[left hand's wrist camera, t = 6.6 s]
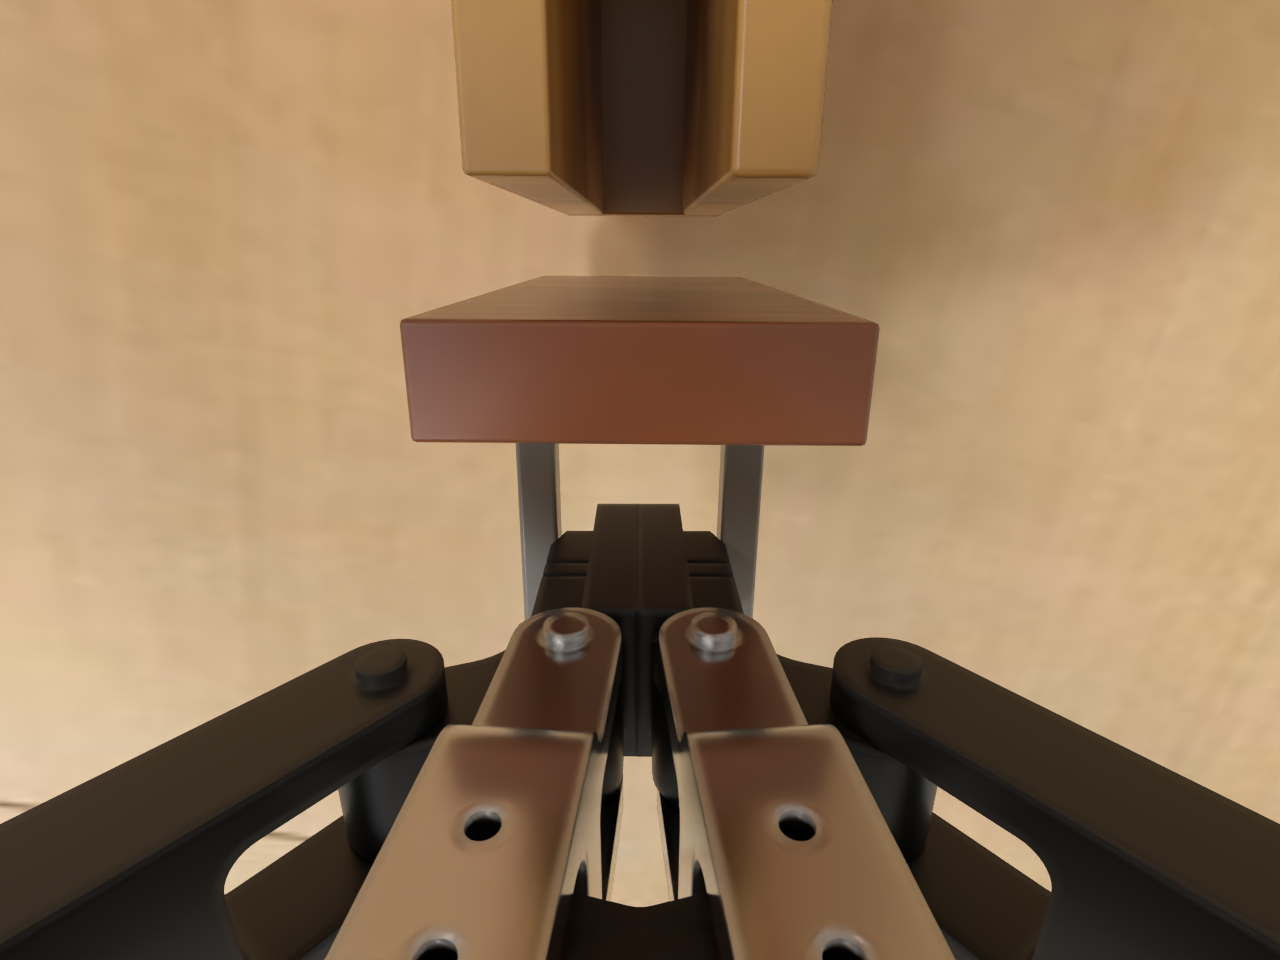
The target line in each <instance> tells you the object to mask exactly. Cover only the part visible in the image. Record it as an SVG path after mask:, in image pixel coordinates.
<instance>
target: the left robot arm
mask: <svg viewBox="0 0 1280 960" xmlns="http://www.w3.org/2000/svg"><path fill="white" fill-rule="evenodd" d="M623 756H652V774H653V780H654V783H655V785H656V787H657V810H658V818H659V825H660V833H661V840H662V848H663V856H664V863H665V871H666V879H667V886H668V894H669V902H665V903H661V904H657V905H653V906H648V907H632V906H627V905H623V904H619V903H615V902H611V895H612V888H613V880H614V872H615V865H616V857H617V849H618V842H619V834H620V827H621V819H622V811H623ZM937 786H938V787H940V788H941V789H943V790H944V791H946V792H948V793H949V794H951V795H952V796H954V797H955V798H957V799H958V800H960V801H962V802H963V803H965V804H966V805H968V806H969V807H971V808H972V809H974V810H976V811H977V812H979V813H980V814H982V815H983V816H985V817H986V818H988V819H989V820H991V821H993V822H994V823H996V824H997V825H999V826H1000V827H1002V828H1003V829H1005V830H1007V831H1008V832H1010V833H1011V834H1013V835H1014V836H1016V837H1017V838H1019V839H1020V840H1022V841H1023V842H1024V843H1026V844H1027V845H1028V846H1029V847H1030V848H1031V849H1032V850H1033V851H1034V852H1035V853H1036V854H1037V855H1038V856H1039V858H1040V859H1041V860H1042V862H1043V863H1044V865H1045V867H1046V868H1047V871H1048V873H1049V875H1050V879H1051V882H1052V892H1050V891H1048V890H1047V889H1045V888H1044V887H1042V886H1041V885H1039V884H1038V883H1036V882H1035V881H1033V880H1032V879H1030V878H1029V877H1027V876H1026V875H1025V874H1023V873H1022V872H1020V871H1019V870H1017V869H1016V868H1014V867H1013V866H1011V865H1010V864H1008V863H1007V862H1005V861H1004V860H1002V859H1001V858H999V857H998V856H996V855H995V854H994V853H992V852H991V851H989V850H988V849H986V848H985V847H983V846H982V845H980V844H979V843H977V842H976V841H974V840H973V839H971V838H970V837H968V836H967V835H965V834H964V833H963V832H961V831H960V830H958V829H957V828H955V827H954V826H952V825H951V824H949V823H948V822H946V821H945V820H943V819H942V818H940V817H939V816H937V815H936V814H934V813H933V812H932V810H933V805H934V800H935V795H936V790H937ZM337 789H338V791H339V796H340V801H341V806H342V811H343V816H341V817H340V818H338V819H337V820H335V821H334V822H332V823H331V824H330V825H328V826H327V827H325V828H324V829H322V830H321V831H319V832H318V833H316V834H315V835H313V836H312V837H310V838H309V839H307V840H306V841H304V842H303V843H301V844H300V845H299V846H297V847H296V848H294V849H293V850H291V851H290V852H288V853H287V854H285V855H284V856H282V857H281V858H279V859H278V860H276V861H275V862H273V863H272V864H270V865H269V866H267V867H266V868H265V869H263V870H262V871H260V872H259V873H257V874H256V875H254V876H253V877H251V878H250V879H248V880H247V881H245V882H244V883H242V884H241V885H239V886H238V887H236V888H235V889H234V890H232V891H230V892H229V893H227V894H226V895H224V885H225V881H226V878H227V875H228V873H229V871H230V869H231V868H232V866H233V864H234V863H235V862H236V860H237V859H238V858H239V857H240V856H241V855H242V853H243V852H244V851H245V850H247V849H248V848H249V847H250V846H251V845H253V844H254V843H255V842H257V841H258V840H260V839H261V838H263V837H264V836H266V835H267V834H269V833H271V832H272V831H274V830H275V829H277V828H278V827H280V826H281V825H283V824H285V823H286V822H288V821H289V820H291V819H292V818H294V817H295V816H297V815H299V814H300V813H302V812H303V811H305V810H306V809H308V808H309V807H311V806H313V805H314V804H316V803H317V802H319V801H320V800H322V799H323V798H325V797H326V796H328V795H330V794H331V793H333V792H334V791H336V790H337ZM0 960H1280V824H1278V823H1276V822H1274V821H1272V820H1270V819H1268V818H1266V817H1264V816H1262V815H1260V814H1258V813H1256V812H1254V811H1252V810H1250V809H1248V808H1246V807H1244V806H1242V805H1240V804H1238V803H1236V802H1234V801H1232V800H1230V799H1228V798H1226V797H1224V796H1222V795H1220V794H1218V793H1216V792H1214V791H1212V790H1210V789H1208V788H1206V787H1204V786H1202V785H1200V784H1197V783H1195V782H1193V781H1191V780H1189V779H1187V778H1185V777H1183V776H1181V775H1179V774H1177V773H1175V772H1173V771H1171V770H1169V769H1167V768H1165V767H1163V766H1161V765H1159V764H1157V763H1155V762H1153V761H1151V760H1149V759H1147V758H1145V757H1143V756H1141V755H1139V754H1137V753H1135V752H1133V751H1131V750H1129V749H1127V748H1125V747H1123V746H1121V745H1119V744H1117V743H1115V742H1113V741H1111V740H1109V739H1107V738H1105V737H1103V736H1101V735H1099V734H1096V733H1094V732H1092V731H1090V730H1088V729H1086V728H1084V727H1082V726H1080V725H1078V724H1076V723H1074V722H1072V721H1070V720H1068V719H1066V718H1064V717H1062V716H1060V715H1058V714H1056V713H1054V712H1052V711H1050V710H1048V709H1046V708H1044V707H1042V706H1040V705H1038V704H1036V703H1034V702H1032V701H1030V700H1028V699H1026V698H1024V697H1022V696H1020V695H1018V694H1016V693H1014V692H1012V691H1010V690H1008V689H1006V688H1004V687H1002V686H1000V685H998V684H996V683H993V682H991V681H989V680H987V679H985V678H983V677H981V676H979V675H977V674H975V673H973V672H971V671H969V670H967V669H965V668H963V667H961V666H959V665H957V664H955V663H953V662H951V661H949V660H947V659H945V658H943V657H941V656H939V655H937V654H935V653H933V652H931V651H929V650H927V649H925V648H922V647H920V646H918V645H915V644H912V643H909V642H905V641H901V640H896V639H890V638H864V639H858V640H855V641H851V642H849V643H847V644H845V645H844V646H842V647H841V648H840V649H839V650H838V651H837V653H836V655H835V657H834V664H833V668H828V667H823V666H818V665H813V664H808V663H804V662H799V661H795V660H791V659H788V658H785V657H783V656H780V655H778V654H776V652H775V650H774V648H773V646H772V643H771V641H770V639H769V637H768V634H767V633H766V631H765V629H764V628H763V627H762V626H761V625H760V624H759V623H758V622H757V621H755V620H754V619H752V618H750V617H748V616H747V615H744V613H743V609H742V605H741V601H740V597H739V594H738V590H737V586H736V582H735V579H734V577H733V571H732V567H731V564H730V560H729V556H728V552H727V548H726V545H725V544H724V543H723V542H722V541H721V540H719V539H718V538H717V537H716V536H715V535H714V534H712V533H711V532H710V531H683V529H682V522H681V515H680V508H679V504H598V505H597V512H596V518H595V525H594V531H566V532H565V533H564V534H563V535H562V536H561V537H559V538H558V539H557V540H556V541H555V542H553V543H552V544H551V546H550V550H549V554H548V557H547V563H546V564H545V568H544V572H543V577H542V579H541V582H540V586H539V590H538V593H537V597H536V600H535V604H534V608H533V611H532V615H531V617H530V618H528V619H526V620H525V621H524V622H522V623H521V624H520V625H519V626H518V627H517V628H516V630H515V631H514V633H513V635H512V637H511V639H510V642H509V644H508V646H507V648H506V650H505V651H503V652H501V653H499V654H497V655H494V656H492V657H489V658H486V659H483V660H479V661H475V662H470V663H465V664H460V665H455V666H450V667H445V668H444V660H443V657H442V655H441V653H440V652H439V651H438V650H437V649H436V648H435V647H433V646H432V645H430V644H427V643H425V642H422V641H418V640H411V639H390V640H384V641H378V642H374V643H370V644H367V645H364V646H361V647H358V648H356V649H354V650H352V651H349V652H347V653H345V654H343V655H341V656H339V657H337V658H335V659H333V660H331V661H329V662H327V663H325V664H323V665H321V666H319V667H317V668H315V669H313V670H311V671H309V672H307V673H305V674H303V675H301V676H299V677H297V678H295V679H293V680H291V681H289V682H287V683H285V684H283V685H281V686H279V687H277V688H275V689H273V690H271V691H269V692H267V693H265V694H263V695H260V696H258V697H256V698H254V699H252V700H250V701H248V702H246V703H244V704H242V705H240V706H238V707H236V708H234V709H232V710H230V711H228V712H226V713H224V714H222V715H220V716H218V717H216V718H214V719H212V720H210V721H208V722H206V723H204V724H202V725H200V726H198V727H196V728H194V729H192V730H190V731H188V732H186V733H184V734H182V735H180V736H178V737H176V738H174V739H172V740H170V741H168V742H166V743H164V744H161V745H159V746H157V747H155V748H153V749H151V750H149V751H147V752H145V753H143V754H141V755H139V756H137V757H135V758H133V759H131V760H129V761H127V762H125V763H123V764H121V765H119V766H117V767H115V768H113V769H111V770H109V771H107V772H105V773H103V774H101V775H99V776H97V777H95V778H93V779H91V780H89V781H87V782H85V783H83V784H81V785H79V786H77V787H75V788H73V789H71V790H69V791H67V792H64V793H62V794H60V795H58V796H56V797H54V798H52V799H50V800H48V801H46V802H44V803H42V804H40V805H38V806H36V807H34V808H32V809H30V810H28V811H26V812H24V813H22V814H20V815H18V816H16V817H14V818H12V819H10V820H8V821H6V822H4V823H2V824H0Z"/></svg>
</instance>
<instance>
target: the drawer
mask: <svg viewBox="0 0 1280 960" xmlns="http://www.w3.org/2000/svg"><path fill="white" fill-rule="evenodd" d="M451 4H452V18H453V33H454V47H455V62H456V77H457V91H458V106H459V120H460V135H461V150H462V164H463V171H464V173H465V174H467V175H469V176H472V177H474V178H477V179H479V180H482V181H484V182H487V183H489V184H492V185H494V186H497V187H499V188H502V189H504V190H507V191H509V192H512V193H514V194H517V195H519V196H522V197H524V198H527V199H529V200H532V201H534V202H537V203H539V204H542V205H544V206H547V207H550V208H552V209H555V210H557V211H560V212H562V213H565V214H567V215H570V216H672V217H716V216H718V215H720V214H722V213H724V212H727V211H729V210H731V209H734V208H736V207H739V206H741V205H744V204H746V203H749V202H751V201H754V200H756V199H759V198H761V197H764V196H766V195H768V194H771V193H773V192H776V191H778V190H781V189H783V188H786V187H788V186H791V185H793V184H796V183H798V182H801V181H803V180H805V179H808V178H810V177H813V176H815V174H816V172H817V170H818V166H819V154H820V142H821V130H822V118H823V106H824V94H825V82H826V70H827V58H828V46H829V34H830V22H831V10H832V0H451ZM400 330H401V340H402V350H403V359H404V369H405V379H406V389H407V399H408V408H409V418H410V428H411V437H412V439H413V441H416V442H465V443H516V457H517V476H518V495H519V515H520V534H521V553H522V572H523V592H524V611H525V620H526V619H528V618H530V617H531V615H532V611H533V608H534V604H535V600H536V597H537V593H538V590H539V586H540V582H541V579H542V577H543V572H544V568H545V564H546V563H547V557H548V554H549V550H550V546H551V544H552V543H553V542H555V541H556V540H557V539H558V538H559V537H561V536H562V535H561V503H560V471H559V443H577V444H689V445H721V458H720V480H719V501H718V522H717V538H718V539H719V540H721V541H722V542H723V543H724V544H725V545H726V548H727V552H728V556H729V560H730V564H731V567H732V571H733V577H734V579H735V582H736V586H737V590H738V594H739V597H740V601H741V605H742V609H743V613H744V615H747V616H748V617H750V618H752V617H753V603H754V588H755V573H756V559H757V544H758V529H759V515H760V500H761V485H762V471H763V456H764V445H801V446H862V445H865V443H866V439H867V431H868V422H869V414H870V405H871V397H872V388H873V380H874V371H875V363H876V354H877V346H878V337H879V325H878V324H876V323H874V322H871V321H868V320H865V319H862V318H859V317H856V316H853V315H850V314H847V313H845V312H842V311H839V310H836V309H833V308H830V307H827V306H824V305H821V304H818V303H815V302H812V301H809V300H806V299H803V298H800V297H797V296H794V295H791V294H788V293H785V292H782V291H779V290H776V289H773V288H770V287H767V286H764V285H761V284H758V283H755V282H752V281H749V280H746V279H743V278H734V277H614V276H542V277H538V278H535V279H532V280H529V281H525V282H522V283H519V284H516V285H512V286H509V287H506V288H503V289H499V290H496V291H493V292H490V293H487V294H483V295H480V296H477V297H474V298H470V299H467V300H464V301H461V302H457V303H454V304H451V305H448V306H444V307H441V308H438V309H435V310H431V311H428V312H425V313H422V314H418V315H415V316H412V317H409V318H405V319H403V320H401V323H400ZM520 624H521V623H520ZM520 624H519V625H520Z"/></svg>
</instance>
